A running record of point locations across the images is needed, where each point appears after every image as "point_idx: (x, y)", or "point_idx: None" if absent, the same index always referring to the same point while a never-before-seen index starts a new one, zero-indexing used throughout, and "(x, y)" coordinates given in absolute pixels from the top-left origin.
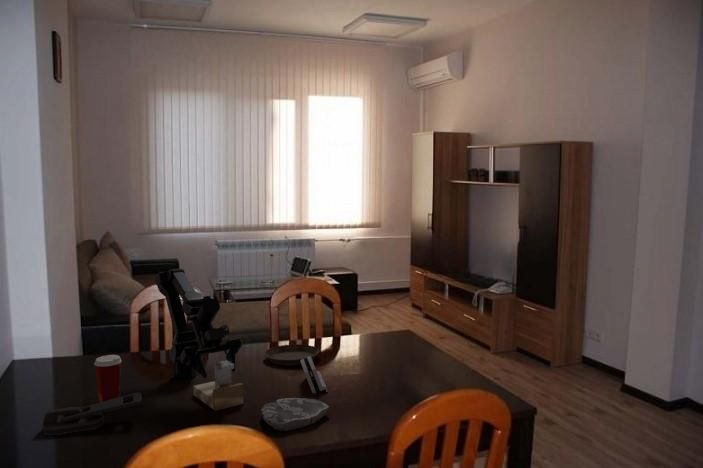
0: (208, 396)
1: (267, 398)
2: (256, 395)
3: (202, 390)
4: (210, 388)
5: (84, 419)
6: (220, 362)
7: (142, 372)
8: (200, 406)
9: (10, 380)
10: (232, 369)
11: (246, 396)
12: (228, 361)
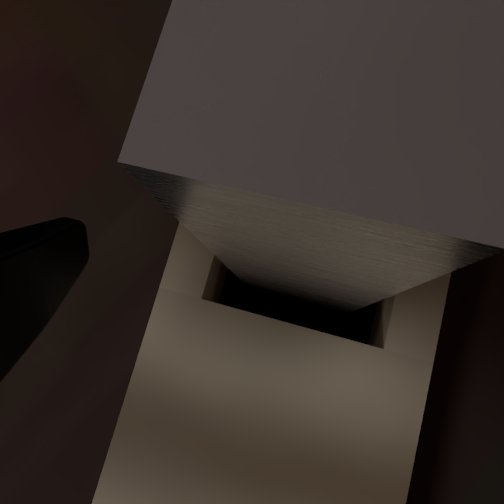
0: (443, 304)
1: (68, 103)
2: (64, 197)
3: (388, 488)
4: (298, 463)
5: None
6: (357, 140)
7: None
8: (466, 357)
9: None
10: (65, 265)
11: (115, 237)
12: (161, 55)
